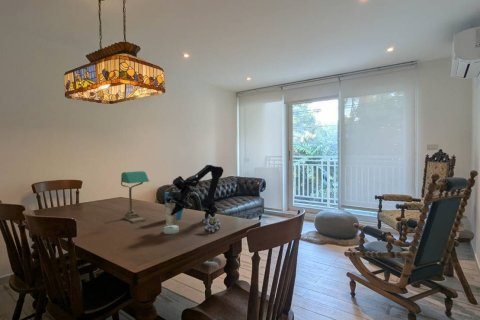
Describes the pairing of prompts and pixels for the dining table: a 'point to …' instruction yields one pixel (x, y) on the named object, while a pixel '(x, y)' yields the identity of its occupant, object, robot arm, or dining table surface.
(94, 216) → the dining table surface
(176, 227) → the plinth
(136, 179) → the banker's lamp
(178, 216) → the block
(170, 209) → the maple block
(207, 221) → the passion flower
